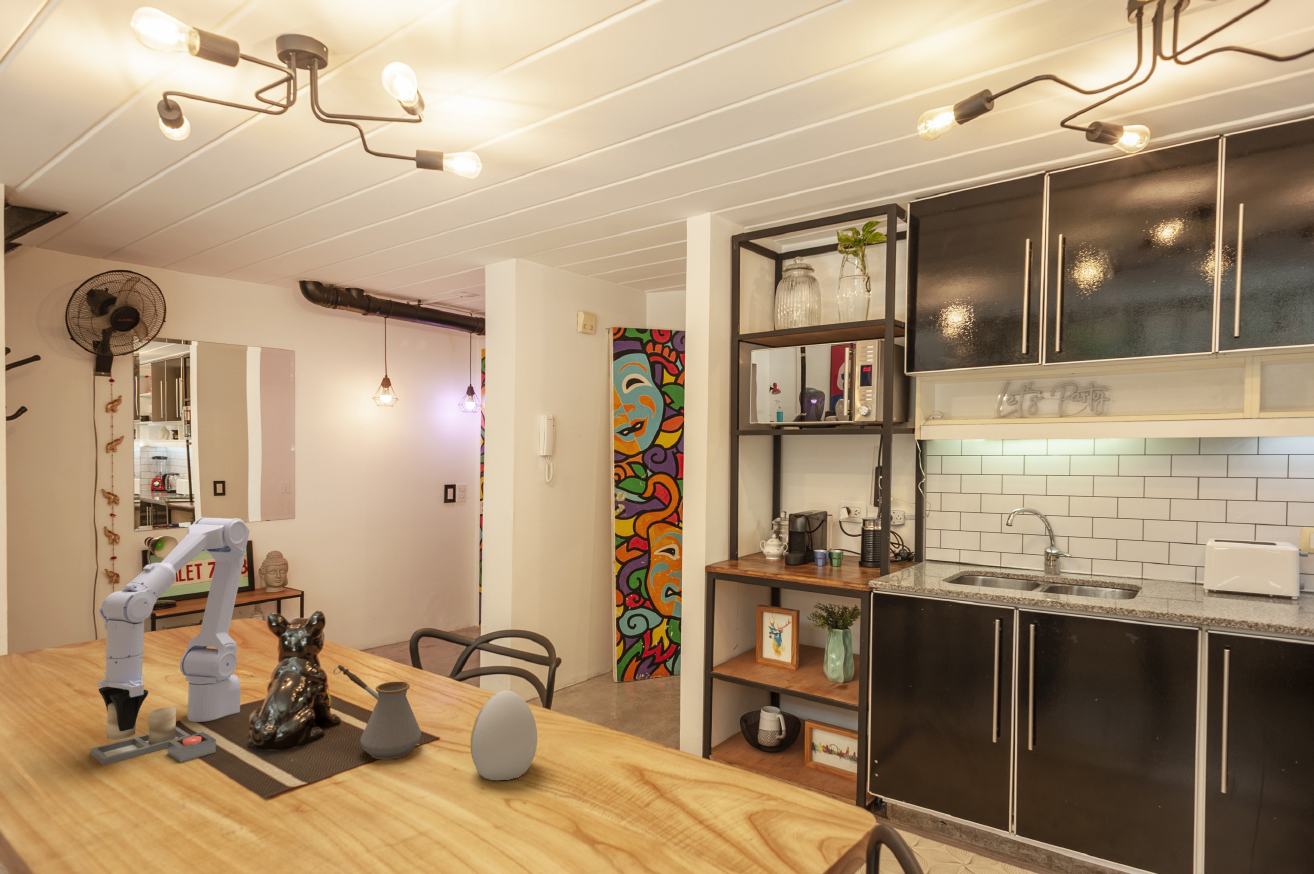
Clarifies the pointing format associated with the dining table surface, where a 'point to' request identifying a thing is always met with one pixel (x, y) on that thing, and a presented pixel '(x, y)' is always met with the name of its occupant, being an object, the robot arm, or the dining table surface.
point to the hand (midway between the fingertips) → (121, 726)
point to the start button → (191, 740)
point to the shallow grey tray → (129, 748)
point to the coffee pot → (388, 720)
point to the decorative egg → (504, 737)
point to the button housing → (191, 748)
